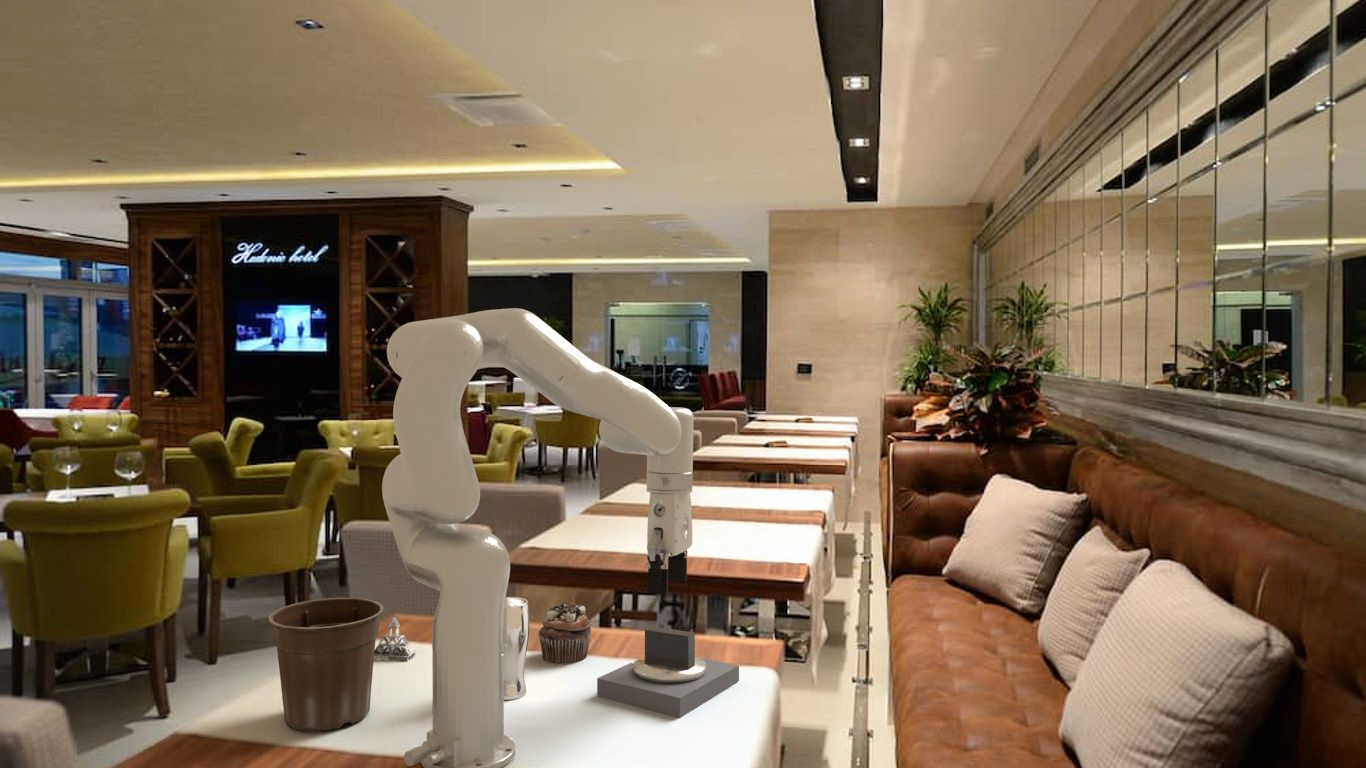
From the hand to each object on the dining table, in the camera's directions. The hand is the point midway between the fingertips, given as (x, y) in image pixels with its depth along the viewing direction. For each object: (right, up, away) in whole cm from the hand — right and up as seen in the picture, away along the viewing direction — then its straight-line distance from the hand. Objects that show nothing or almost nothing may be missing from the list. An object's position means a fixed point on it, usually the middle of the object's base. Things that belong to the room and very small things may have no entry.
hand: (667, 586), depth 151 cm
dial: (0, -14, +1) cm, 14 cm away
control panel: (0, -17, +1) cm, 17 cm away
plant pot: (-51, -18, -11) cm, 55 cm away
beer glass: (-26, -17, -1) cm, 31 cm away
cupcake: (-19, -17, +17) cm, 31 cm away
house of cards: (-49, -17, +19) cm, 55 cm away
